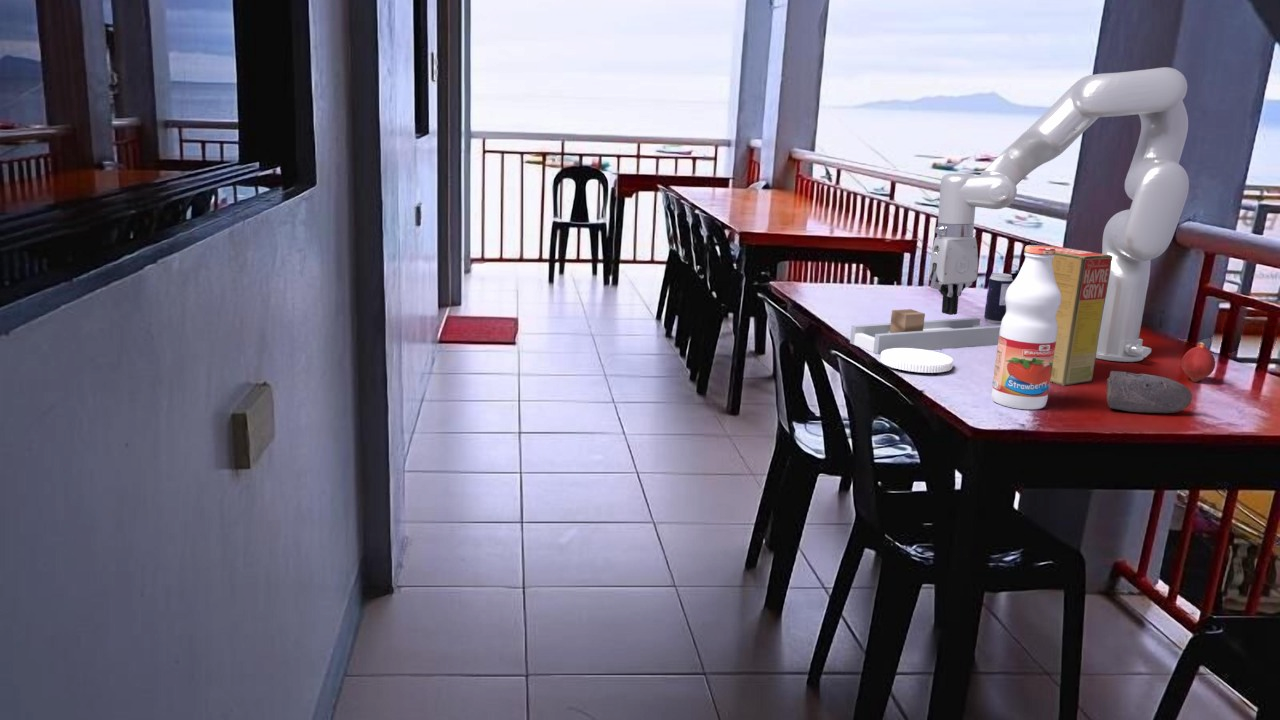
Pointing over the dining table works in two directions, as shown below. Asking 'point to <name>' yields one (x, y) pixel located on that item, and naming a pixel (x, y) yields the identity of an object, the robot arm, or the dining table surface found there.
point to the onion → (1198, 362)
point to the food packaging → (1078, 312)
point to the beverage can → (997, 297)
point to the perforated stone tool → (1146, 393)
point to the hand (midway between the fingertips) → (949, 313)
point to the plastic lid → (916, 360)
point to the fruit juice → (1028, 333)
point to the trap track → (926, 335)
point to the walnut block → (906, 321)
